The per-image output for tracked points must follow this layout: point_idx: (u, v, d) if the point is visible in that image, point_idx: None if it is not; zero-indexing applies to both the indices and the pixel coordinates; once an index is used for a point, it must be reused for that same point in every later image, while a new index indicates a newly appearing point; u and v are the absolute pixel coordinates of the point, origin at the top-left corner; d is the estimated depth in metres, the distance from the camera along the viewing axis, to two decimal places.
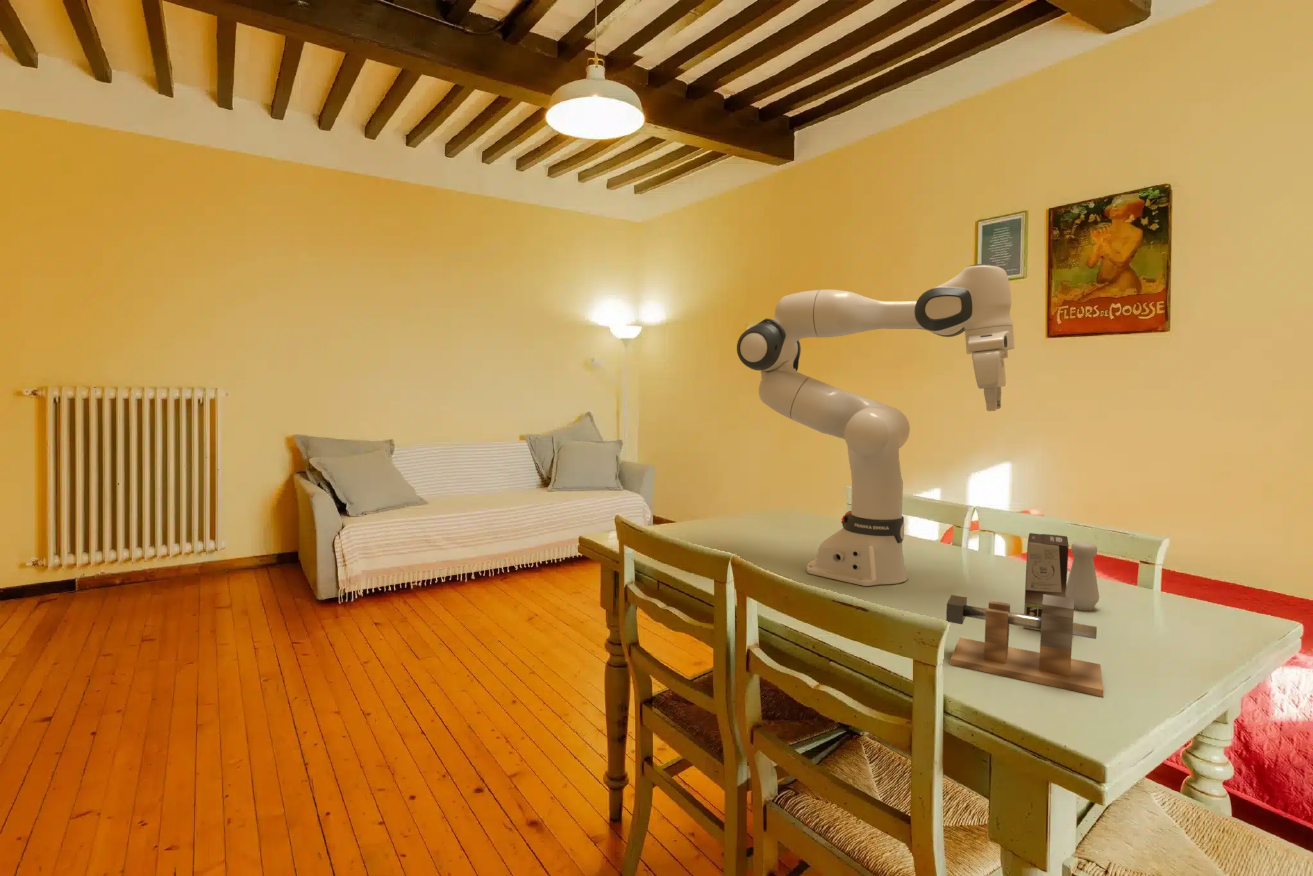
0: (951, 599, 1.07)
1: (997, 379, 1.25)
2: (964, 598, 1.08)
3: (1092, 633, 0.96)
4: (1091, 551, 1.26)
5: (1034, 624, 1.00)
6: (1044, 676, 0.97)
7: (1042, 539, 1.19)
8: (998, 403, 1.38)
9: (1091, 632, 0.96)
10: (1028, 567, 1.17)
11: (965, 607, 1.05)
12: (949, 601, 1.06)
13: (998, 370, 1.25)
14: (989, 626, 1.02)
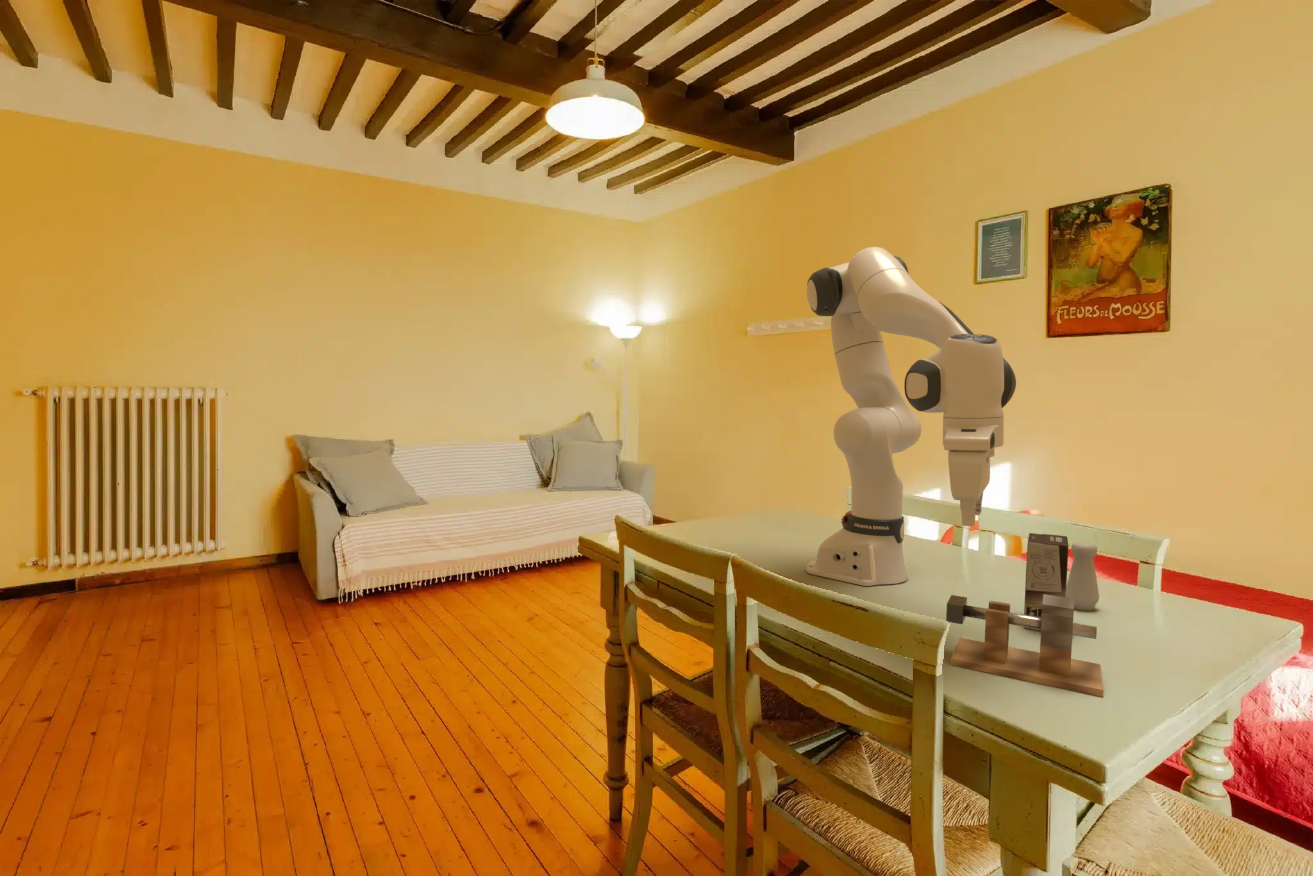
0: (951, 599, 1.07)
1: (978, 492, 0.96)
2: (964, 598, 1.08)
3: (1092, 633, 0.96)
4: (1091, 551, 1.26)
5: (1034, 624, 1.00)
6: (1044, 676, 0.97)
7: (1042, 539, 1.19)
8: (978, 508, 1.09)
9: (1091, 632, 0.96)
10: (1028, 567, 1.17)
11: (965, 607, 1.05)
12: (949, 601, 1.06)
13: (980, 480, 0.96)
14: (989, 626, 1.02)
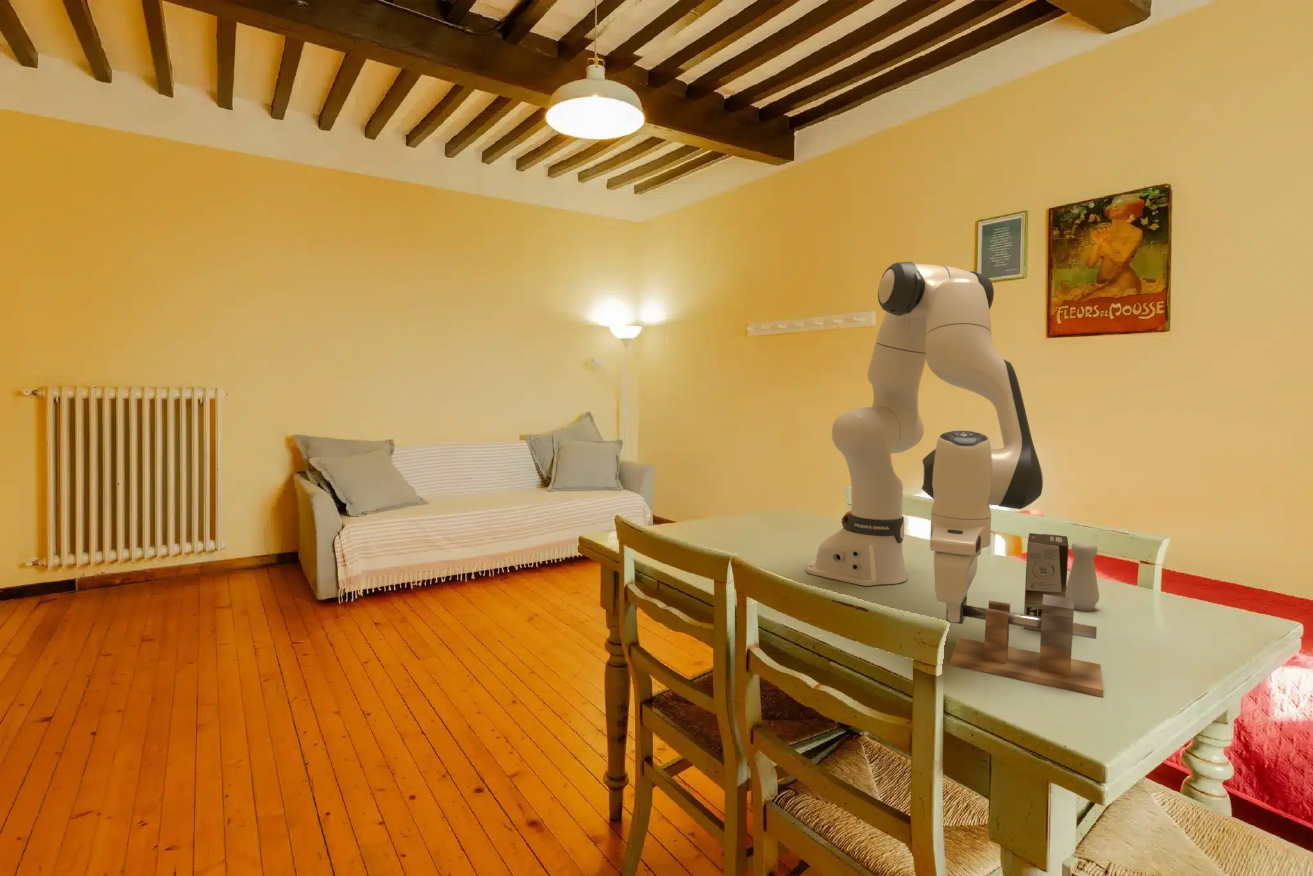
0: None
1: (961, 596, 0.97)
2: (964, 598, 1.08)
3: (1092, 633, 0.96)
4: (1091, 551, 1.26)
5: (1034, 624, 1.00)
6: (1044, 676, 0.97)
7: (1042, 539, 1.19)
8: None
9: (1091, 632, 0.96)
10: (1028, 567, 1.17)
11: (965, 607, 1.06)
12: None
13: (964, 585, 0.97)
14: (989, 626, 1.02)
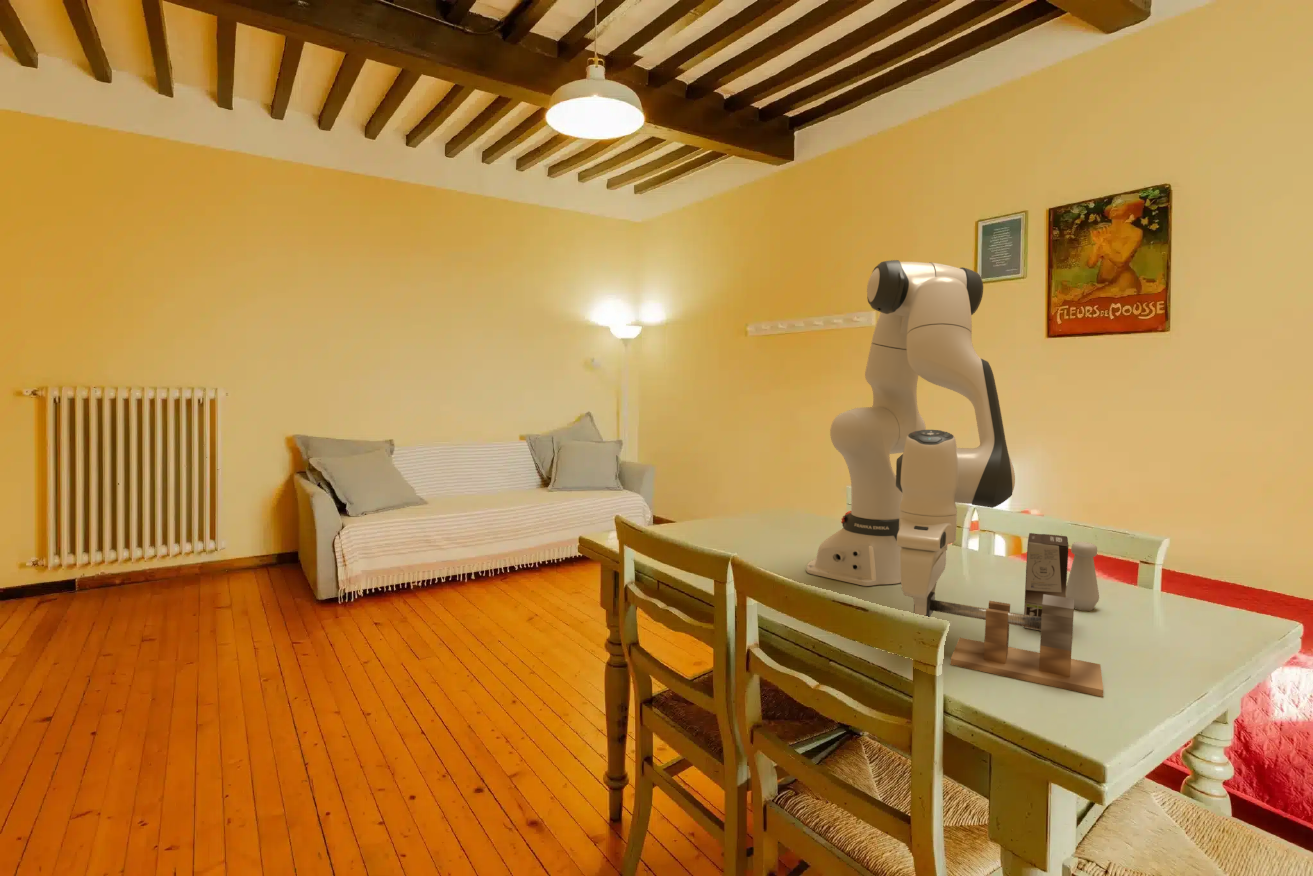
0: None
1: (926, 591, 1.00)
2: (932, 593, 1.10)
3: None
4: (1091, 551, 1.26)
5: None
6: (1044, 676, 0.97)
7: (1042, 539, 1.18)
8: None
9: None
10: (1028, 567, 1.17)
11: (932, 602, 1.08)
12: None
13: (928, 580, 1.00)
14: (989, 626, 1.02)
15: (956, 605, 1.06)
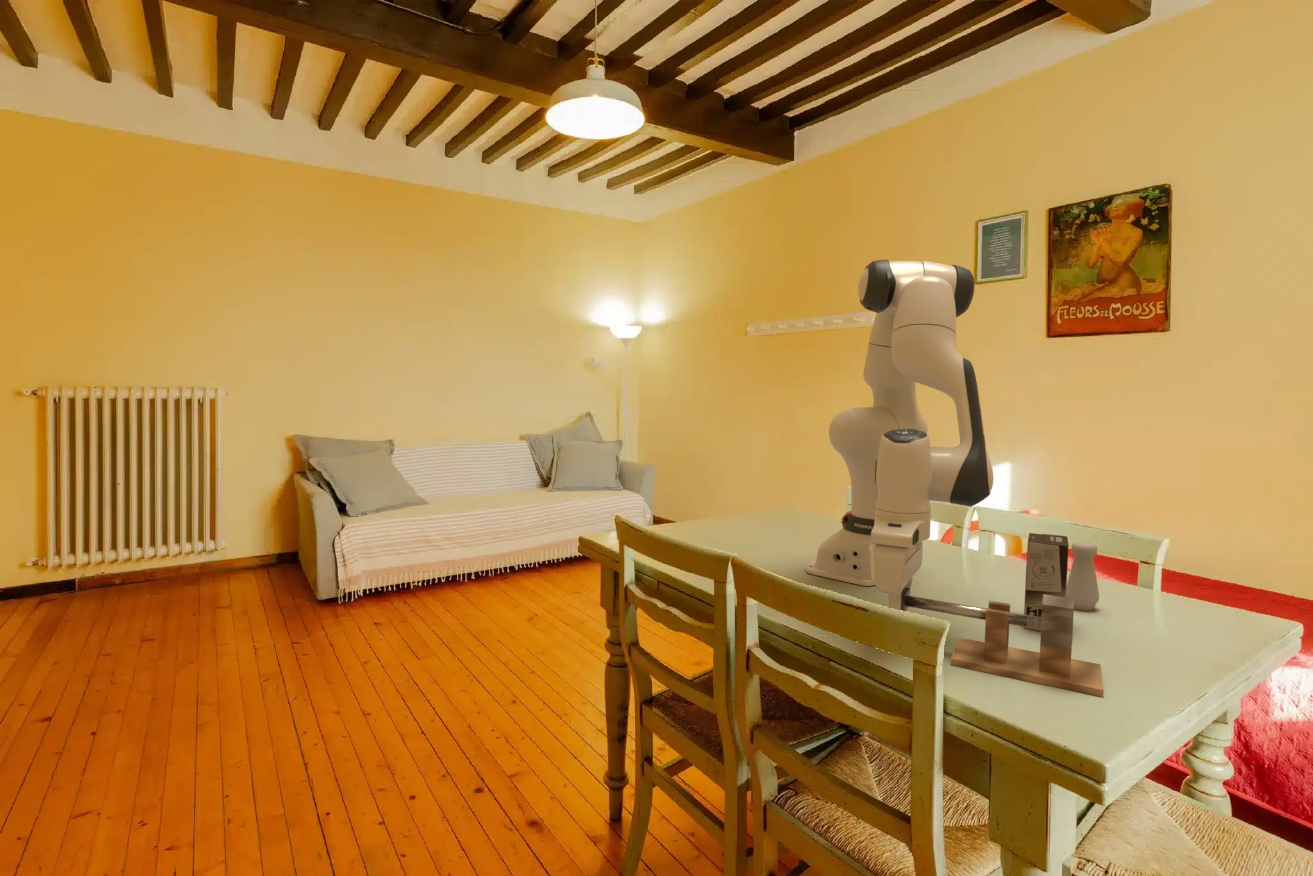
0: None
1: (899, 586, 1.02)
2: (907, 589, 1.12)
3: (1022, 621, 1.01)
4: (1091, 551, 1.26)
5: (970, 613, 1.05)
6: (1044, 676, 0.97)
7: (1042, 539, 1.19)
8: None
9: (1022, 620, 1.01)
10: (1028, 567, 1.17)
11: (907, 597, 1.10)
12: None
13: (901, 576, 1.02)
14: (989, 626, 1.02)
15: (930, 600, 1.08)
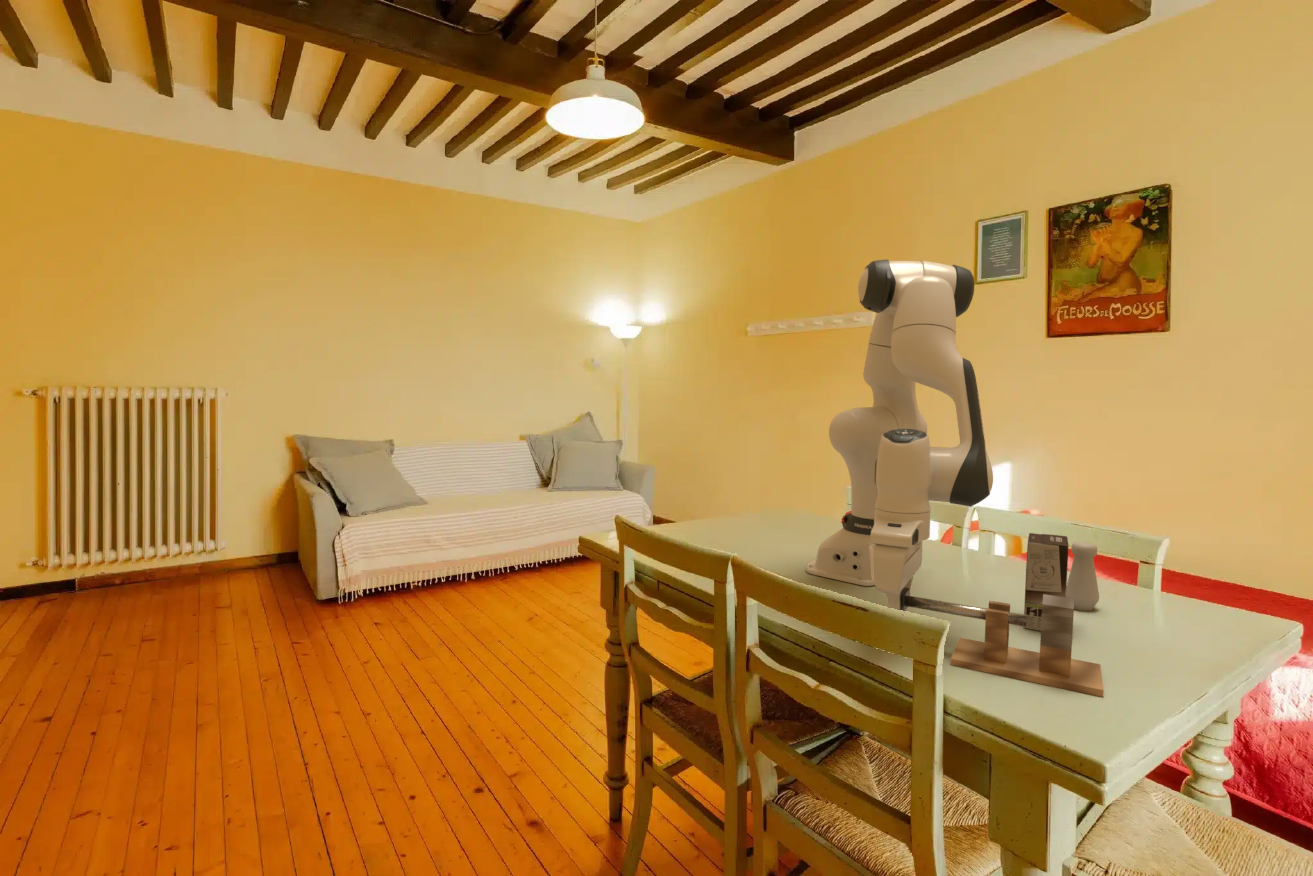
0: None
1: (898, 586, 1.02)
2: (907, 589, 1.12)
3: (1022, 621, 1.01)
4: (1091, 551, 1.26)
5: (969, 613, 1.05)
6: (1044, 676, 0.97)
7: (1042, 539, 1.19)
8: None
9: (1021, 620, 1.01)
10: (1028, 567, 1.17)
11: (907, 597, 1.10)
12: None
13: (900, 576, 1.02)
14: (989, 626, 1.02)
15: (930, 600, 1.09)
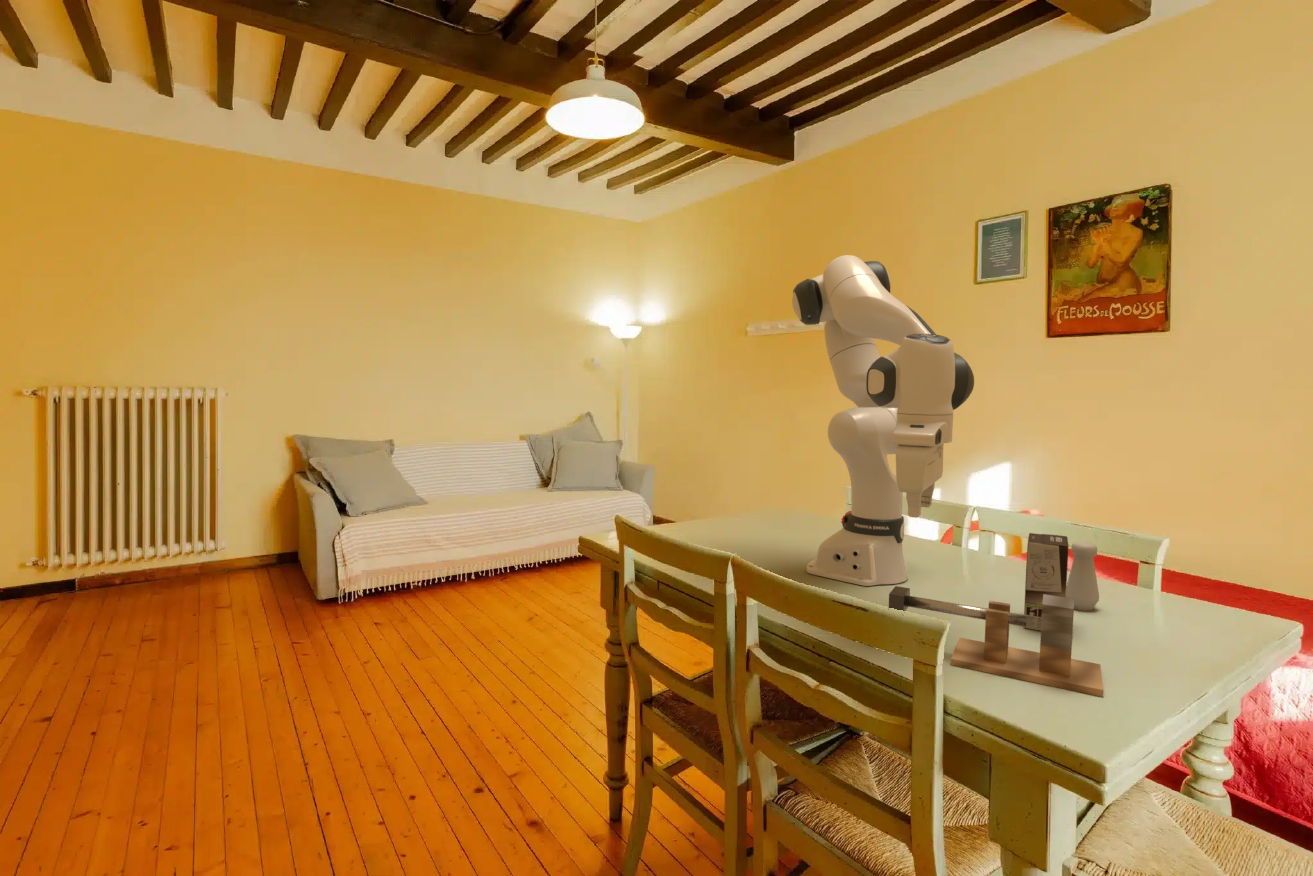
0: (894, 590, 1.12)
1: (921, 485, 1.01)
2: (907, 589, 1.12)
3: (1022, 621, 1.01)
4: (1091, 551, 1.26)
5: (969, 613, 1.05)
6: (1044, 676, 0.97)
7: (1042, 539, 1.19)
8: (928, 501, 1.14)
9: (1021, 620, 1.01)
10: (1028, 567, 1.17)
11: (907, 597, 1.10)
12: (892, 592, 1.11)
13: (923, 474, 1.01)
14: (989, 626, 1.02)
15: (930, 600, 1.09)
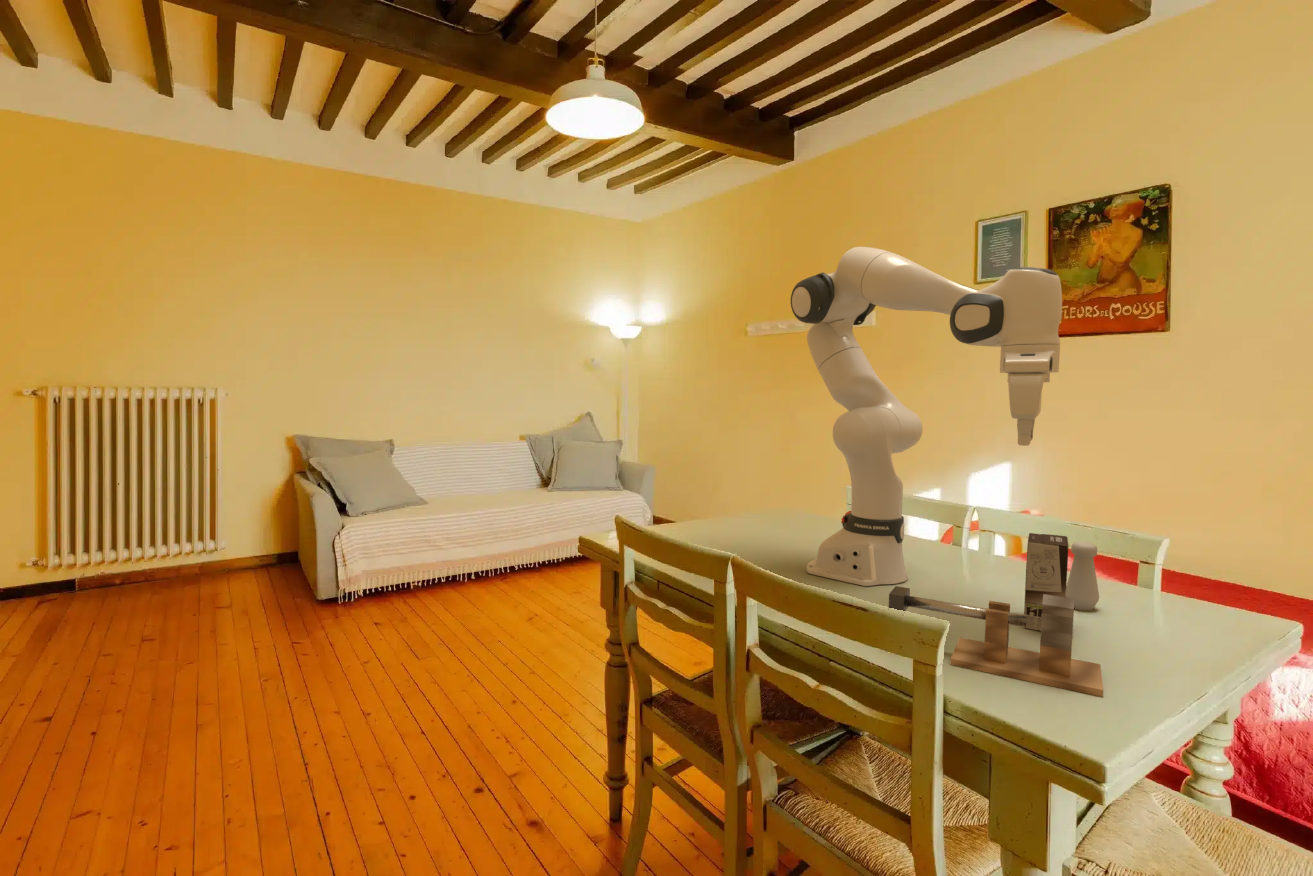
0: (894, 590, 1.12)
1: (1036, 409, 1.03)
2: (907, 589, 1.12)
3: (1022, 621, 1.01)
4: (1091, 551, 1.26)
5: (969, 613, 1.05)
6: (1044, 676, 0.97)
7: (1042, 539, 1.19)
8: None
9: (1021, 620, 1.01)
10: (1028, 567, 1.17)
11: (907, 597, 1.10)
12: (892, 592, 1.11)
13: (1039, 399, 1.03)
14: (989, 626, 1.02)
15: (930, 600, 1.09)
